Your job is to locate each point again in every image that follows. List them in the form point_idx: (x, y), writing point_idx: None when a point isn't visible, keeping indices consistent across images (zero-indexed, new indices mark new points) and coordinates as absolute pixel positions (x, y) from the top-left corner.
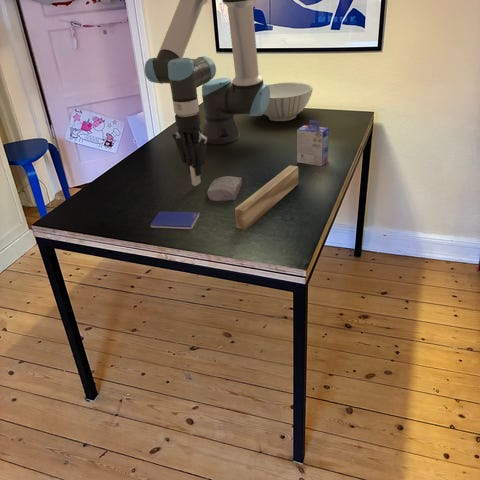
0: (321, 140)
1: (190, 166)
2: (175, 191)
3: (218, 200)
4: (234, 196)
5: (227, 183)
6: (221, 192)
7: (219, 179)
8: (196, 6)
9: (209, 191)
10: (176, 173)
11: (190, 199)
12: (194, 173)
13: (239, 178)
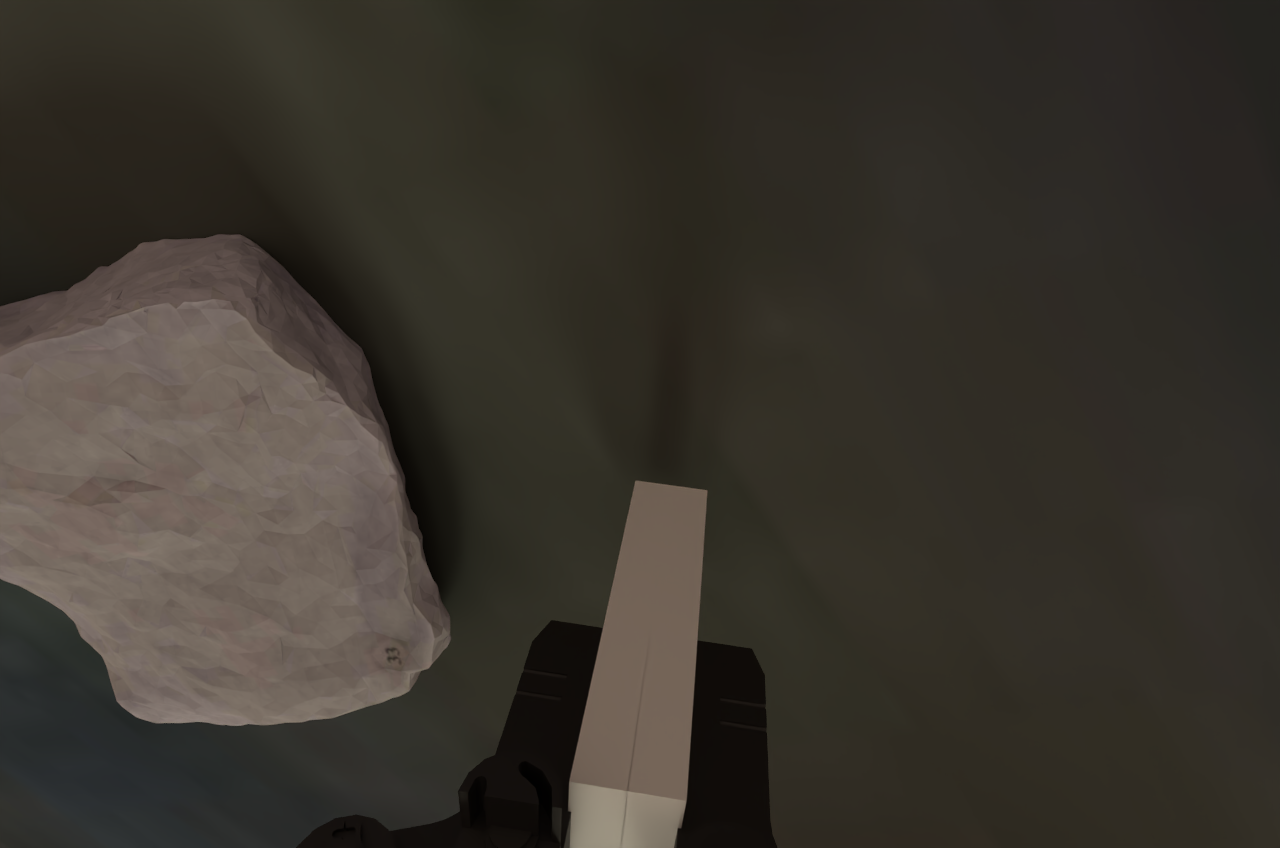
0: None
1: (673, 809)
2: (960, 315)
3: (133, 253)
4: None
5: (113, 565)
6: (1, 334)
7: (368, 656)
8: None
9: (175, 303)
10: (1172, 753)
11: (536, 134)
12: (597, 653)
13: (123, 697)
